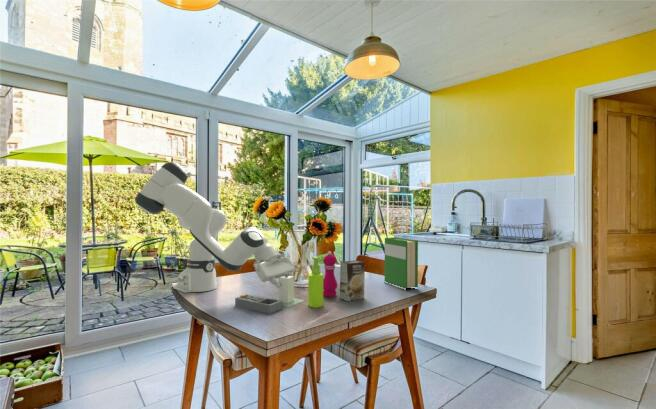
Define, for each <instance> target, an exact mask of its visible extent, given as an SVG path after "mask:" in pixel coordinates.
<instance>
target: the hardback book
mask: <svg viewBox="0 0 656 409" xmlns="http://www.w3.org/2000/svg"><path fill="white" fill-rule="evenodd" d="M418 273H419V240H416V239H411V238H409V239H408V238H403V237H396V236H395V237H384V282H385V281H386V282H388V283H391V284H394V285H397V286H400V287H403V288H411V287H418V288H419V285H418V284H419V279H418V278H419V274H418ZM411 289H412V288H411Z"/></svg>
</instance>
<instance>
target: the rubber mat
mask: <svg viewBox="0 0 656 409" xmlns="http://www.w3.org/2000/svg"><path fill="white" fill-rule="evenodd" d="M275 300H279V297H278V298H277V299H275ZM304 301H306V299H300V298H295V297H294V301H292V302H290V303H283V307H286V308H289V307H290V308H291V307H293V306H295V305H297V304H301V303H302V302H304Z"/></svg>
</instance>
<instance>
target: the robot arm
mask: <svg viewBox="0 0 656 409" xmlns="http://www.w3.org/2000/svg"><path fill="white" fill-rule="evenodd" d="M188 177H189V176H188V173H187V172H186V170H185V169H184V168H183V167H182V166H181V165H180V164H178V163H175V162H173V161H168V162H166V163H164V164H162V166H161V167H160V168H159V169H158V170H157V171H156V172H155V173H153V175H151V177H150V178H149V179H148V181H147V182H146V183H145V184H144V186H142V188H141V189H140V192H138V193H137V195H136V196H135V198H134V202H135V204H136V205H137V206H138V208H139V209H140V210H141V211H142V212H144V213H146V214H152V215H156V214H159V213H162V212H166V210H167V211H169V212H170V213H171V214H173V215H174V216H176V217H177V221H178V224H179V226H180V227H181V228H183V229H185V230H189V233H190V235H191V237H192V238H194V239H193V240H191V242H190V243H189V259H188V260H187V261H186V264H187V265H186V268H185V269H184V270H183V271H182V272H181V273H179V275H178V276H177V283H176V284H173V286H172V285H171V288H172V287H173V288H172V289H175V290H177V291H179V292H182V293H188V294H189V293H199V292H200V293H202V292H210V291H213V290H216V289H217V288H218V285H219V283H218V282H217V272H216V268H215V265H216V261H218V263H219V264H220V266H222V268H223V269H225V270H226V271H227V272H228V271H229V272H236V271H237V272H238V271H240V270H241V269H242V267H243V266H244V265H245V263H246V262H247V261H248V260H249V259H250V258H251V257H252V256H253V257H254V260H255V261H253V265H252V266H253V267H254V269H255V272H256V275H257V277H258V278H259V279H260V281H261V282H262V283H266V282H269V283H271V285H274V287H275V288H276V289H279V288H280V287H281V286H282V284H281V283H280V282H279V280H277V279H279V277H282V276H285V273H288V276H294V275H293V273H294V272H295V271H296V267H295V265H294V264H293V262H292V261H291V260H290V259H289V258H288V256H286V255H287V254H286V252H285V251H283V250H278V249H275V248H274V247H273V246H272V245H271V244H270V242H269V241H268V239H267V237H266V236H265V235H264V234H263V233H262V232H261V230H259V228H257V227H255V226H249V227H246V228H245V229H244V230H243V231H241V232H239V234H238V235H237V236H236V237H235V238H234V239H233V240H232V241H231V243H230V244H228V246H227V247H224V246H223V245H221V243H220V242H218V241H217V240H216V239H217V237H218V235H219V233H220V232H221V231H222V230H223V229H224V228H225V226H226V224H227V222H228V220H227V214H226V213H225V212H224V210H221V209H217V208H212V205H211V203H210V202H209V201H208V200H207V199H206V198H204V197H203V196H202V195H200V194H199V193H197V192H196V191H195V190H193V189H191V188H189V187H187V186H186V185H184V184H185V183H186V182H187V180H188ZM165 209H166V210H165ZM295 282H296V279H295V278H294V283H295Z"/></svg>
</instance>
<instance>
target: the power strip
mask: <svg viewBox="0 0 656 409" xmlns="http://www.w3.org/2000/svg"><path fill="white" fill-rule="evenodd" d="M234 299H235V301H234V304H235V305H234V306H235V307H239V308H243V309H247V310H251V311H255V312H260V313H263V314H268V315H271V314H274V313H277V312H279V311H281V310H283V309H284V308H283V307H284V306H283V301H280V300H276V299H274V298H268V297H265V296H260V295H256V294H254V295H253V294H249V293H248V294H247V293H244V294H241V295H240V296H237V297H235V298H234Z"/></svg>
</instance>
